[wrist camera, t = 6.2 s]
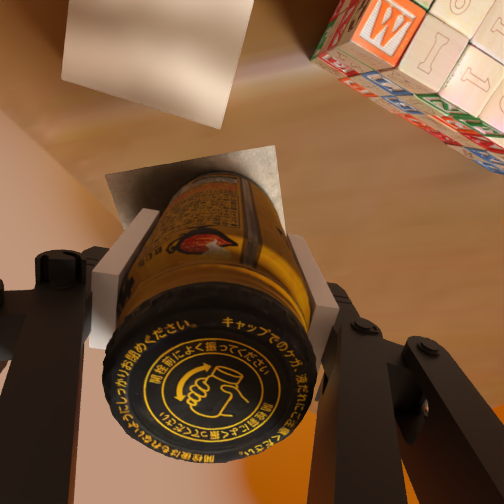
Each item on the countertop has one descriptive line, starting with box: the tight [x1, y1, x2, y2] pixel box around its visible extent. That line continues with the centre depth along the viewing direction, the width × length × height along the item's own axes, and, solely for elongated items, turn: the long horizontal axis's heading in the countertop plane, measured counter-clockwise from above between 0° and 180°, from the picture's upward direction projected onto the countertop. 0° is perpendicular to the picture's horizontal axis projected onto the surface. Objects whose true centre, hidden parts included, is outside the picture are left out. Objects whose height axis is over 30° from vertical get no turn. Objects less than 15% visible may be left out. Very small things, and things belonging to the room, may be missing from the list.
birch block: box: [61, 0, 254, 129], centre depth 28 cm, size 12×12×5 cm
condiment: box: [102, 145, 317, 463], centre depth 14 cm, size 7×8×12 cm
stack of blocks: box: [310, 0, 504, 175], centre depth 27 cm, size 21×6×12 cm, turn 63°
